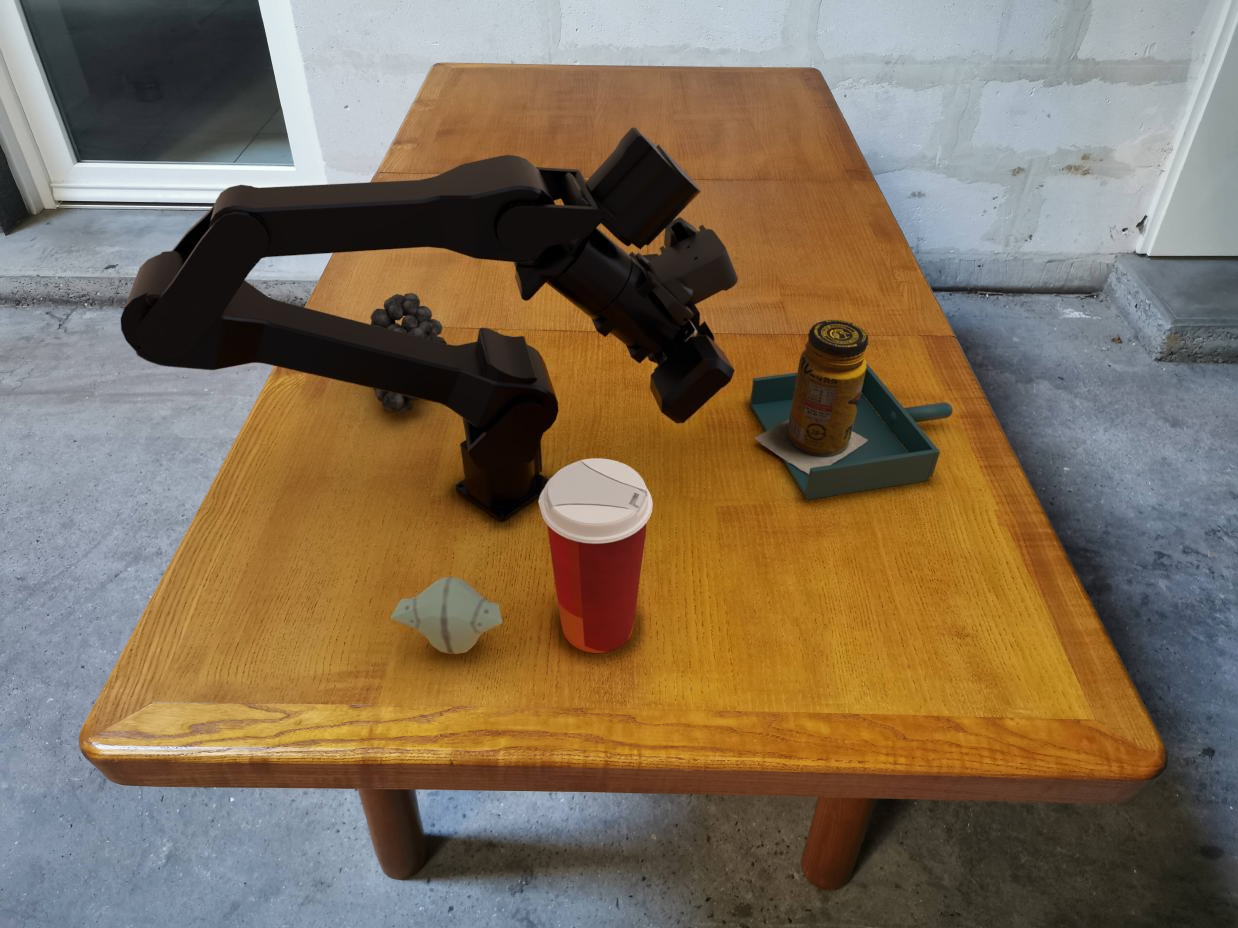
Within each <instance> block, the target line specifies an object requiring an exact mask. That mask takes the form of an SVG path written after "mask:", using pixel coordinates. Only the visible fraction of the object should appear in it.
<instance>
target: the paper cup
mask: <svg viewBox="0 0 1238 928" xmlns="http://www.w3.org/2000/svg"><path fill="white" fill-rule="evenodd" d="M653 503H654V502H653V497H652V495H651V492H650V490H649V489H648V487H647V485H646V482H645V480H644V479H643V477H642V476H641V475H640V473H639V472H637V470H635V469H634V468H633V467H631V466H629V465H627V464H626V463H623V462H621V461H617V460H614V459H608V458H600V457H599V458H597V457H596V458H595V457H594V458H585V459H580V460H577V461H575V462H572V463H569V464H567V465H566V466H563V467H562V468H561V469H559V470H557V472H555V474H554V475H553V476H551V477H550V478H549V481H548V482H547V484H546V486H545V488H544V489H543V491H542V493H541V495H540V497H539V498H538V505H539V509H540V514H541V517H542V518H543V521H544V523H546V528H547V536H548V541H549V548H550V557H551V564H552V570H553V572H552V573H553V580H554V585H555V593H556V599H557V600H556V601H557V606H558V613H559V619H560V624H561V625H560V626H561V629H562V633H563V635H564V638H565V639H566V641H568V643H569V644H571V645H572V646H573V647H574V648H576V649H578V650H580V651H582V652H586V653H592V654H604V653H609V652H612V651H615V650H617V649H619V648H621V647H623V645H624V644H625V643H626V642H627V641H629V639H630V637H631V635H632V633H633V629H634V625H635V619H636V613H637V605H638V598H639V588H640V580H641V571H642V565H643V557H644V551H645V545H646V535H647V525H648V522H649V520H650V518H651V515H652V512H653V505H654V504H653Z"/></svg>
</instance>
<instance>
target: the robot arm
mask: <svg viewBox="0 0 1238 928" xmlns="http://www.w3.org/2000/svg"><path fill="white" fill-rule="evenodd" d="M701 192H702V189H700V187H699V186H698V184H697V183H696V182H695V181H694V179H692V178H691V177H690V175H689V174H688V173H687V172H686V171H685V170H684V169H683V168H682V167H681V166H680V164H679V163H678V162H677V161H676V160H675V159H674V158H673V157H672V156H671V155H670V154H669V153H668V152H667V151H666V149H664V148H663V147H662V145H660V144H657V145H656V144H655V143H654V142H653V141H652V140H651V139H650V138H649V137H647V136H646V135H644V134H643V133H642V132H641V131H640V130H639V129H638V128H637V127H635V126H634V127H631V128H630V129H629V130H628V131H627V132H626V133H625V135H624V136H623V137H622V138H621V139H620V140H619V142H618V143H617V146H616V147H615V149H614V150H613V152H612V153H610V155H609V156H608V157H607V158H606V159H605V160H604V161H603V162H602V164H600V166H599V167H598V168H597V169H596V170H595V171H594V172H593V173H592V174H591V175H590V177H589V178H588V179H586V178H585V176H584V174H583V173H582V171H581V170H580V169H575V168H560V167H559V168H557V167H541V166H535V165H534V164H533V163H532V162H530V161H529V160H528V159H527V158H524V157H522V156H519V155H513V154H505V155H504V154H503V155H498V156H493V157H488V158H484V159H480V160H476V161H471V162H466V163H462V164H460V165H457V166H455V167H453V168H451V169H449V170H447V171H445V172H442V173H440V174H438V175H436V176H435V175H434V176H431V177H427V178H422V179H414V180H413V179H411V180H394V181H393V180H392V181H371V182H369V181H368V182H354V183H353V182H350V183H349V182H347V183H329V184H308V185H288V186H287V185H285V186H267V187H266V186H265V187H264V186H263V187H257V186H254V185H246V184H237V185H233V186H228V187H227V188H226V189H224V190H223V191H221V192H220V193H219V195H218V196H217V198H216V200H215V203H214V204H213V205H212V207H211V208H210V209H209V210H208V211H207V212H206V213H205V214H204V215H203V216H202V217H201V218H200V219H198V221H197V222H195V224H193V225H192V226H191V227H190V228H189V229H188V230H187V231H186V232H185V233H184V235H183V236H182V238H181V239H180V240H179V241H178V242H177V244H176V245H175V246H174V247H173V249H172V250H167V251H162V252H160V253H159V254H156V255H154V256H152V257H150V258H148V259H147V260H146V261H144V263H143V264H141V266H139V268H138V271H137V273H136V276H135V279H134V282H133V284H132V287H131V290H130V292H129V295H128V297H127V300H126V303H125V305H124V308H123V311H122V313H121V316H120V330H121V332H122V335H123V337H124V339H125V342H127V344H128V345H129V346H130V347H131V348H132V349H133V350H134V351H135V354H136V355H137V356H138V357H139V358H141V359H142V360H144V361H146V362H148V363H151V364H154V365H157V366H161V367H167V368H177V369H178V368H179V369H189V370H190V369H191V370H204V371H216V370H224V369H228V368H233V367H238V366H244V365H249V364H264V365H268V366H273V367H277V368H282V369H287V370H290V371H296V372H298V373H303V374H309V375H312V376H317V377H321V378H326V379H331V380H335V381H339V382H343V383H348V384H352V385H357V386H361V387H366V388H371V389H373V388H374V389H378V390H383V391H387V392H392V393H396V394H401V395H405V396H409V397H414V398H418V400H423V401H428V402H432V403H437V404H440V405H442V406H445V407H447V408H448V409H450V410H451V411H452V412H454V413H456V414H457V415H458V416H459V417H461V418H462V423H463V428H464V433H465V434H464V435H465V440H463V441H461V442H459V443H460V444H459V447H460V455H461V462H462V468H463V469H462V470H463V477H464V479H463V480H461V481H459V482H457V483H456V484H455V486H454V487H455V492H456V493H458V494H459V495H460V496H462V497H463V498H465V499H466V500H468V501H469V502H470V503H472V504H474V505H475V506H477V507H478V508H479V509H481V510H482V511H484V512H485V513H487V514H488V515H490V516H491V517H493V518H494V519H496V520H497V521H499V522H504V521H507V520H509V519H510V518H511V517H513V516H514V515H516V514H517V513H519V512H520V511H522V510H524V508H526V507H527V506H529V505H530V504H531V503H533V502H534V501H536V500H538V499H539V498H540V495H541V493H542V491H543V489H544V488H545V486H546V484H547V482H548V481H549V480H550V478H547V477H546V476H544V475H542V474H541V473H542V472H543V459H542V438H543V436H544V434H545V433H546V432H547V431H548V430H549V429H551V428H552V427H553V425H554V424H555V422H556V420H557V418H558V415H559V402H558V399H557V396H556V392H555V389H554V386H553V383H552V380H551V376H550V374H549V370H548V367H547V363H546V362H545V360H544V358H543V356H542V354H541V353H540V351H539V350H537V349H536V348H535V347H534V346H531V345H529V344H527V340H526V337H525V336H524V335H518V336H517V335H516V336H511V335H506V334H503V333H499V332H497V331H495V330H493V329H491V328H488V327H479V329H478V335H477V340H476V341H473V342H467V343H463V344H458V345H457V344H456V345H454V344H448V343H447V344H444V343H440V342H436V341H432V340H428V339H425V338H421V337H417V336H413V335H409V334H405V333H401V332H397V331H394V330H390V329H386V328H382V327H378V326H374V325H371V323H366V322H362V321H358V320H354V319H351V318H347V317H343V316H339V315H335V314H331V313H327V312H323V311H320V310H315V309H312V308H308V307H304V306H300V305H296V304H293V303H288V302H285V301H280V300H278V299H274V298H272V297H270V296H268V295H266V294H265V293H263V291H260V290H259V289H258V288H256V287H255V286H253V285H252V284H250V283H249V282H248V281H247V280H246V279H247V277H248V276H249V274H250V273H251V272H252V270H254V268H255V267H256V266H257V264H258V263H259V262H260V261H261V260H262V259H266V258H275V257H276V258H277V257H290V256H291V257H292V256H306V255H308V256H309V255H324V254H341V253H354V252H355V253H356V252H369V251H370V252H371V251H385V250H386V251H387V250H402V249H417V248H433V249H443V250H447V251H451V252H453V253H456V254H459V255H463V256H465V257H469V258H472V259H475V260H476V259H477V260H487V261H498V262H509V263H513V266H514V268H515V275H514V279H515V283H516V285H517V288H518V292H519V294H520V297H521V300H523V301H525V302H527V301H530V300H531V299H532V298H533V297H534V296H535V295H536V294H537V293H538V292H539V291H540V290H541V289H542V288H543V286H544V285H545V284H547V285H548V286H549V287H551V288H552V289H553V290H554V291H556V292H557V293H558V294H560V295H561V296H562V297H563V298H565V299H566V300H567V301H569V302H570V303H571V304H573V305H574V306H575V307H576V308H578V309H579V310H580V311H581V312H583V314H585V315H587V317H589V318H591V321H592V323H593V326H594V328H595V330H596V332H597V333H599V334H600V335H602V336H603V337H604V338H606V337H607V336H609V334H611V335H613V336H614V337H615V338H616V339H618V340H619V341H620V342H622V343H623V344H624V345H625V346H626V349H627V351H628V353H629V354H630V357H631V358H632V360H634V361H635V362H637V363H638V364H641V363H642V362H643V361H644V360H645V359H646V358H647V359H648V361H650V362H652V363H654V364H657V366H656V367H655V368H654V369H653V372H652V373H651V374H650V381H649V389H650V391H651V394H652V396H653V398H654V400H655V402H656V404H657V406H658V409H659V411H660V413H661V414H663V415H664V416H666V418H667V419H668V418H669V420H671V421H672V422H674V423H675V424H684V423H686V422H687V421H688V420H689V419H690V418H691V417H693V415H694V414H695V413H697V412H698V411H699V410H700V409H701V408H702V407H703V406H704V405H706V404H707V402H709V401H710V400H711V399H712V398H713V397H714V396H715V395H716V394H718V392H719V391H721V390H722V389H723V388H725V387H726V386H728V384H730V383H731V381H732V379H733V377H734V373H735V369H734V367H733V365H732V363H731V362H730V360H729V359H728V357H727V355H726V354H725V352H724V350H722V349H721V348H720V347H719V345H718V344H717V343H716V341H715V339H716V338H715V335H714V334H713V332H712V330H711V329H710V327H709V325H708V324H707V322H706V321H705V320H704V321H703V322H702V323H701V312H700V310H699V309H698V307H697V306H696V305H697V304H699V303H702V302H703V301H705V300H707V299H708V298H710V297H712V296H715V295H716V294H718V293H720V292H723V291H724V292H726V291H728V290H730V289H732V288H734V286H736V285H737V284H738V280H739V277H738V275H737V272H736V270H735V267H734V265H733V262H732V260H731V257H730V254H729V252H728V249H727V248H726V245H725V244H724V243H723V241H722V240H721V239H720V238H719V236H718V235H717V233H716V232H715V231H714V230H713V229H711V228H706V227H705V225H704V224H701V225H699V226H698V229H697V228H696V227H695V226H694V225H693V224H691V223H690V222H689V221H687V220H686V219H685V218H683V217H681V216H680V217H678V216H679V215H680V214H681V213H682V212H683V211H684V209H686V208H687V206H689V204H691V203H692V202H693V201H694V199H695V198H697V196H698V195H699V194H700V193H701ZM558 200H561V202H562V204H556V201H558ZM600 225H601V226H603V227H604V228H605V229H606V230H607V231H608V232H609V233H611V234H612V236H614V237H615V238H616V240H618V241H619V242H620V243H622V244H623V245H625V246H627V247H631V245H633V246H634V247H635V248H637V249H639V250H642V249H643V248H644V247H645V246H649V245H651V244H652V242H654V241H655V240H656V239H657V237H659V235H660V234H661V233H662V232H663V231H664V238H663V243H664V244H663V245H662V246H660V247H659V250H660V254H659V253H648V254H642V253H640V252H637V253H635V252H634V251H631V252H630V253H628V252H626V251H625V250H624V249H623V248H621V246H619V245H618V244H617V243H616V242H615V241H614V240H612V238H610V237H609V236H608V235H607V234H606V233H604V232H603V231H602V229H600V228H599V226H600ZM700 323H701V324H700Z"/></svg>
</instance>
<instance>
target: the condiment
mask: <svg viewBox="0 0 1238 928" xmlns="http://www.w3.org/2000/svg"><path fill="white" fill-rule="evenodd" d="M807 336H808V337H807V338H808V340H807V341H806V343H805V349H804V350H803V351H802V352H801V354H800V357H799V361H798V366H797V372H798V373H797V372H796V373H797V378H796V384H795V390H794V395H793V401H792V407H791V413H790V419H788V420H787V421H784V422H782V423H781V424H778V425H776V426H775V427H774V428H771V429H770V430H769V431H767V432H766V431H764V432H762V433H760V434H759V435H758V436H755V437H754V440H756V441H757V442H759V443H760V444H761V445H762V446H764V447H765V448H766V449H767V450H769V451H771V452H772V453H774V454H775V455H777V456H779V458H781V457H782V458H783V459H785V460H786V461H787V462H789V463H791V464H793V465H795V466H796V467H798V468H799V469H800V470H802V471H804V472H806V473H808V474H809V472H810V468H814V467H821V466H827V465H831V464H833V463H834V462H836V461H838V460H839V459H841V458H843V457H845V456H846V455H848V454H849V453H851V452H852V451H854V450H855V449H857V448H858V447H859V446H861V445H863V444H864V443H866V442H867V441H868V439H865V438H864V437H862V436H860V435H858V434H856V433H855V432H852V429H853V424H854V420H855V416H856V412H857V407H858V404H859V398H860V394H861V390H862V386H863V381H864V377H865V372H866V363H867V361H866V356H867V348H868V346H869V336H868V333H867V332H866V331H865V330H864V329H863V328H861V327H860V326H859V325H857V324H855V323H852V322H851V321H847V320H843V319H825V320H822V321H818V322H816V323H814V324H813V325H812V326H811V328H810V329H809V330H808V334H807ZM782 458H781V459H782Z"/></svg>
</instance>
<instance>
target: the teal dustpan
mask: <svg viewBox="0 0 1238 928" xmlns="http://www.w3.org/2000/svg"><path fill="white" fill-rule="evenodd" d="M797 373H798V371H797V372H790V373H789V372H788V373H783V374H774V375H767V376H759V377H753V378H752V386H751V391H750V392H751V394H750V401H749V407H750V409H751V410H752V412H753V414H754V415H755V416H756V418H757V420H758V421H759V423H760V425H761V427H762V428H763V430H764V432H767V431H769V430H770V429H771V428H774V427H775V426H776V425H778V424H781V423H782V422H784V421H787V420H788V419H790V413H791V407H792V401H793V395H794V390H795V384H796V378H797ZM953 411H954V409H953V405H951V404H950V403H948V402H944V401H943V402H935V403H930V404H929V403H928V404H922V405H921V404H920V405H914V406H907V407H904V406H903V405H902V404H901V403H900V402H899V400H898V399H897V398H896V396H895V395H894V394H893V393H892V392H891V391H890V389H889V388H888V387H887V386H886V384H885V383H884V382H883V381H882V380H881V379H880V377H879V376H878V375H877V374H876V373H875V371H874V370H873V369H872V368H871V366H870V365H869V364H868V363H867V362H866V372H865V377H864V381H863V386H862V390H861V394H860V398H859V404H858V407H857V412H856V416H855V420H854V424H853V429H852V432H855V433H856V434H858V435H860V436H862V437H864V438H865V439H868V441H867V442H866V443H864V444H863V445H861V446H859V447H858V448H857V449H855V450H854V451H852V452H851V453H849V454H848V455H846V456H845V457H843V458H841V459H839V460H838V461H836V462H834V463H833V464H831V465H827V466H821V467H814V468H810V472H809V474H808V473H806V472H804V471H802V470H800V469H799V468H798V467H796V466H795V465H793V464H791V463H789V462H787V461H786V460H785V459H783V458H782V457H780V458H781V460H782V462H783V463H784V465H785V466H786V468H787V470H788V472H789V473H790V475H791V476H792V478H793V480H794V481H795V483H796V485H797V486H798V488H799V489H800V491H801V493H802V494H803V496H804V498H805V499H806V500H807V501H808V500H815V499H821V498H827V497H832V496H839V495H840V496H841V495H846V494H851V493H858V492H864V491H871V490H877V489H885V488H890V487H896V486H902V485H909V484H914V483H915V484H916V483H921V482H927V480H928V478H932V477H934V476H933V475H934V473H935V469H936V467H937V463H938V460H939V457H940V453H941V451H940V450H939V449H938V447H937V446H936V445H935V444H934V443H933V441H932V440H931V438H930V437H928V435H927V434H926V433H925V432H924V431H923V429H922V428H921V427H920V426H919V424H918V423H922V422H930V421H936V420H944V419H948V418H950V417H951V416H952V414H953Z"/></svg>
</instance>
